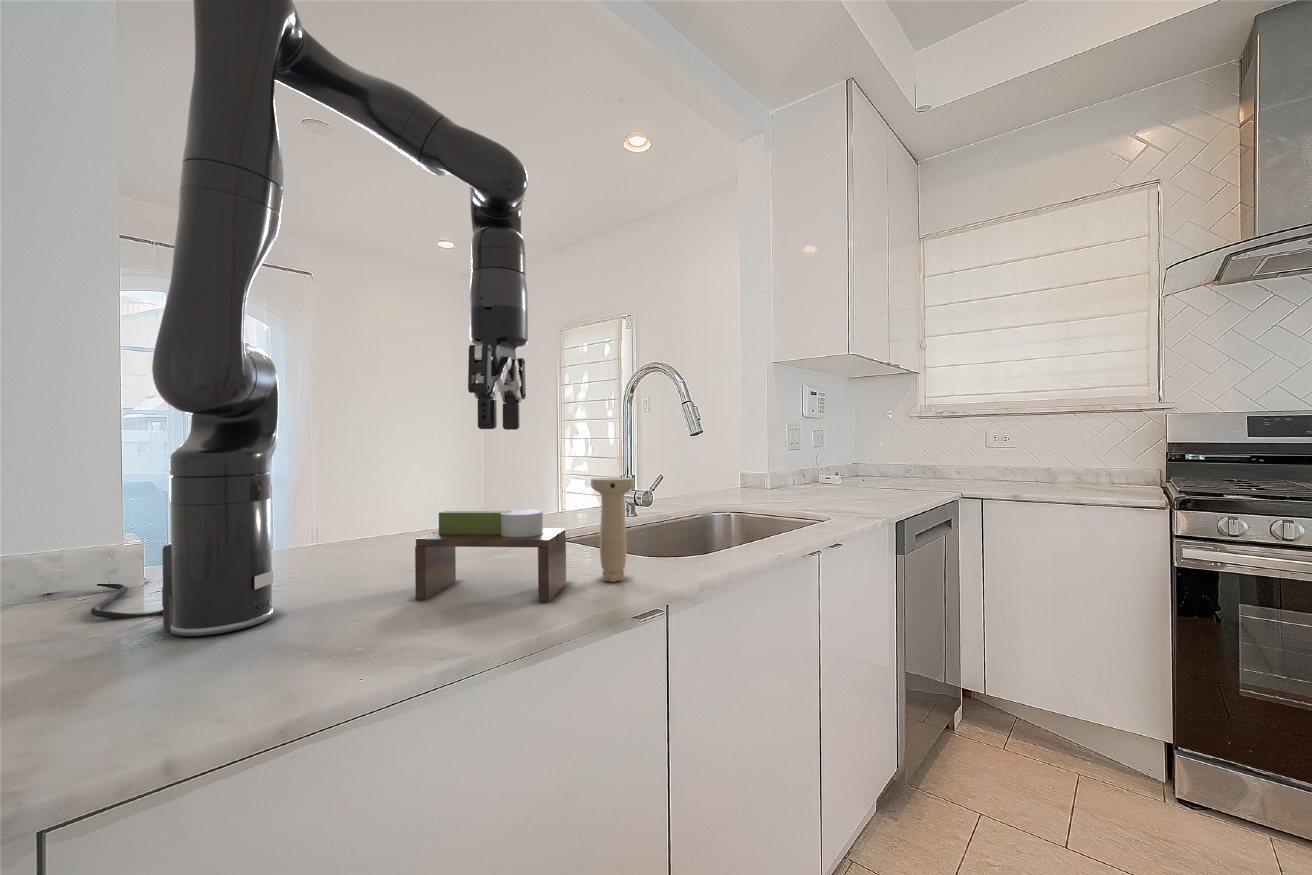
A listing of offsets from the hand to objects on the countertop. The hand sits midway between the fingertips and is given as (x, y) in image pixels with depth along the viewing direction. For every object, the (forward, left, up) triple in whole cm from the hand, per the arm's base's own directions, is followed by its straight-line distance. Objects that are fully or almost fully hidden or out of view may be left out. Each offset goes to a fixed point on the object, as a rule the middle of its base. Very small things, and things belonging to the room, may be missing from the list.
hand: (499, 429), depth 75 cm
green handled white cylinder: (-2, +2, -14) cm, 15 cm away
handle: (+14, +9, -23) cm, 28 cm away
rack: (-2, +2, -22) cm, 23 cm away
